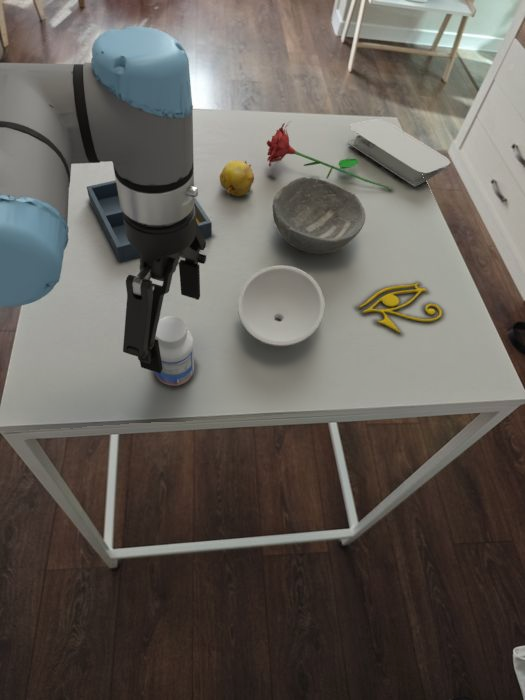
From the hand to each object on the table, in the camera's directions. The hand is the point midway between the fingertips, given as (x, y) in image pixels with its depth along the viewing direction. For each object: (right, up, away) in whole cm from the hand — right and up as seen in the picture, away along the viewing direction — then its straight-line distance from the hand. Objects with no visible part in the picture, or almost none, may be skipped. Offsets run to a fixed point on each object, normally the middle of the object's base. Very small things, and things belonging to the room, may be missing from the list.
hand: (172, 329), depth 66 cm
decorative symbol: (+40, +1, +18) cm, 45 cm away
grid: (-10, +23, +28) cm, 38 cm away
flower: (+27, +36, +42) cm, 62 cm away
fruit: (+7, +31, +36) cm, 48 cm away
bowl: (+23, +20, +30) cm, 42 cm away
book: (+45, +46, +46) cm, 79 cm away
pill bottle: (-1, -6, +9) cm, 11 cm away
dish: (+15, +2, +17) cm, 23 cm away
